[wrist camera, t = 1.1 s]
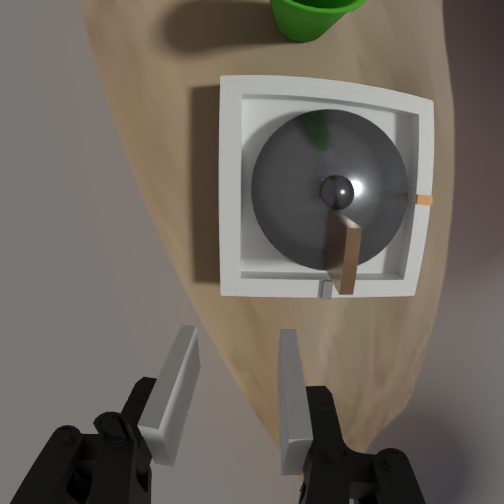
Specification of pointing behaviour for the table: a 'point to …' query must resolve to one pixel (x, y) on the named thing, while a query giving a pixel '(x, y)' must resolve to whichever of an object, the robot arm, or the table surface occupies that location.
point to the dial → (330, 192)
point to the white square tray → (242, 165)
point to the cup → (309, 16)
